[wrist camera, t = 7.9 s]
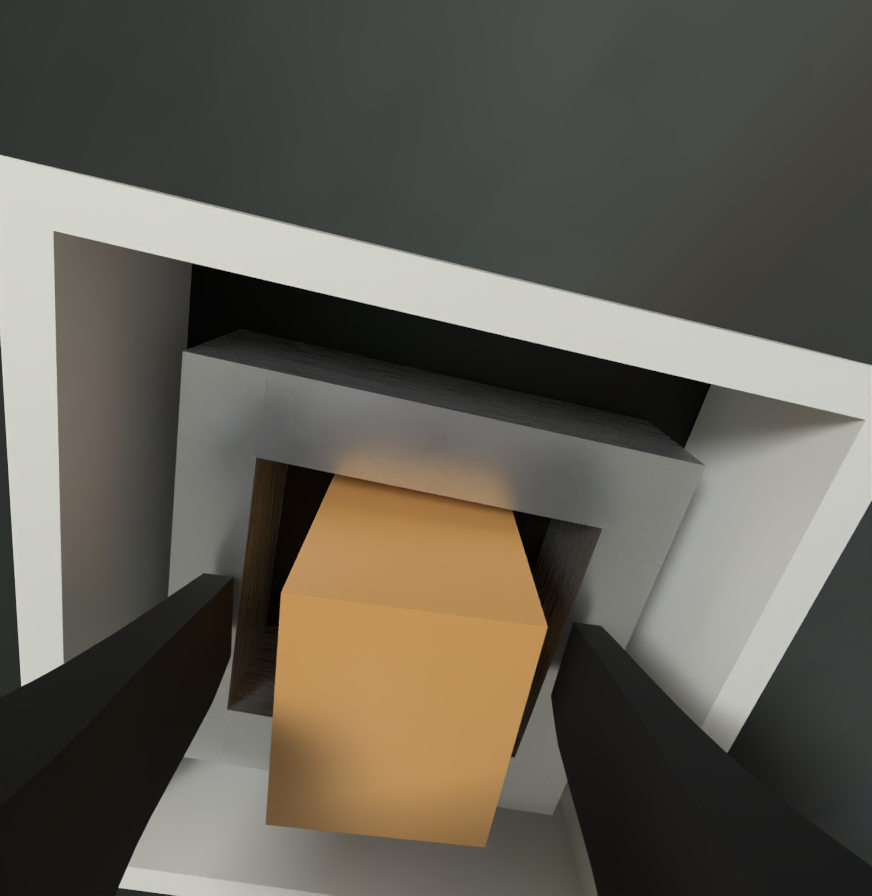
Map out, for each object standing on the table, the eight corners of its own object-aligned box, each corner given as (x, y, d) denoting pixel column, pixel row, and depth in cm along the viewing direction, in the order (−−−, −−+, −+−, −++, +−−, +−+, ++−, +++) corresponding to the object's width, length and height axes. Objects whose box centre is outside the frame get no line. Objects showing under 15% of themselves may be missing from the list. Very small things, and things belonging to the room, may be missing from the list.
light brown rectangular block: (500, 471, 14) (547, 627, 8) (466, 628, 15) (485, 847, 10) (345, 449, 13) (280, 592, 8) (328, 610, 15) (265, 824, 9)
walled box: (765, 338, 12) (939, 382, 8) (568, 784, 17) (611, 955, 13) (157, 191, 11) (-11, 152, 7) (137, 714, 16) (32, 875, 12)
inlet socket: (646, 420, 13) (705, 465, 10) (532, 718, 16) (552, 815, 13) (241, 328, 12) (182, 351, 9) (208, 662, 16) (158, 753, 13)
